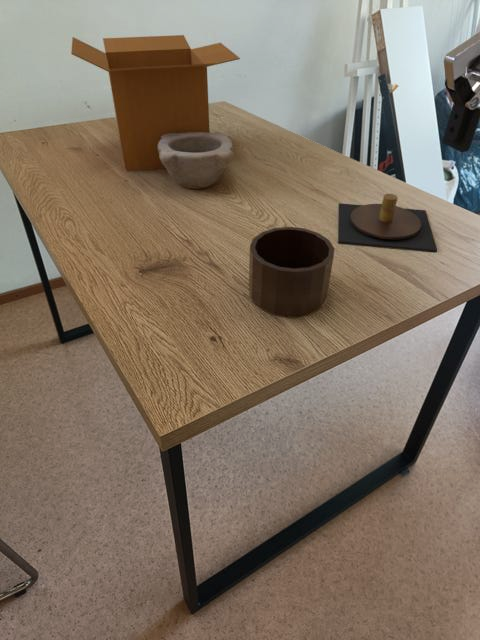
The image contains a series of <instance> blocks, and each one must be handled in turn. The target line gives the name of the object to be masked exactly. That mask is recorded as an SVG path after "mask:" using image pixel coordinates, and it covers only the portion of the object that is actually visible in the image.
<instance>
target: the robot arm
mask: <svg viewBox="0 0 480 640" xmlns="http://www.w3.org/2000/svg"><path fill="white" fill-rule="evenodd" d="M443 67H444V76H445V78H446V79H445V80H444V87H445V89H446V90H447V92H448V95H449V97H448V100H449V102H450V103H453V104H452V107H451V110H450V113H449V114H450V115H449V117H448V120H447V125H446V126H445V127H446V128H445V131H444V135H443V137H442V143H443V144H444V145H446V146H448V147H450V148H452V149H453V150H456V151H458V152H460V153H464V152H468V151H469V150H470V148H471V146H472V142H473V140H474V137H475V134H476V131H477V129H478V124H479V121H480V108H478V107H479V106H480V18H479V19H478V23H477V25H476V29H475V30H474V35H472V36H471V37H470V38H468V39H467V40H465V41H464V42H462V43H461V44H459V45H458V46H456V47H455V48H453V49H452V50H451V51H449V52H448V53H446V54H445V56H444V58H443ZM477 83H478V86H477V87H476V88H475V89H473V88H474V86H475V85H476V84H477Z"/></svg>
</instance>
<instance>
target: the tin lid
mask: <svg viewBox="0 0 480 640" xmlns="http://www.w3.org/2000/svg"><path fill="white" fill-rule="evenodd" d="M398 199H399V197H398V195H396V194H394V193H385V194H384V195H383V198H382V202H381V203H368V204H362V205H363V206H360V207H358V208H356V209H354V210H353V211H352V213H351V216H350V221H351V223H352V225H353V226H354V227H355V228H356V229H358V230H359V231H361V232H363V233H365V234H367V235H370V236H373V237H377V238H382V239H405V238H409V237H412V236H414V235H415V234H417V233H418V232H419V230H420V228H421V221H420V219H419V218H418V217H417V216H416V215H415V214H413V213H412V212H410V211H408V210H406V209H407V208H405V207H400V206H397V202H398Z"/></svg>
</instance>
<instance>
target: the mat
mask: <svg viewBox="0 0 480 640" xmlns="http://www.w3.org/2000/svg"><path fill="white" fill-rule="evenodd" d="M363 205H364V204H354V203H353V204H352V203H338V224H337V225H338V230H337V231H338V233H337V235H338V236H337V243H338V244H342V245H351V246H352V245H353V246H363V247H373V248H384V249H385V248H386V249H397V250H408V251H419V252H430V253H437V252H438V248H437V247H438V246H437V244H436V240H435V237H434V234H433V231H432V228H431V224H430V221H429V217H428V214H427V210H426V209H415V208H405V209H406V210H408V211H410V212H412V213H413V214H415V215H416V216H417V217H418V218H419V219H420V221H421V228H420V230H419V232H418V233H417V234H415V235H414V236H412V237H409V238H405V239H382V238H377V237H373V236H370V235H367V234H365V233H363V232H361V231H359V230H358V229H356V228H355V227H354V226H353V225H352V223H351V221H350V216H351V213H352V211H353V210H354V209H356V208H358V207H360V206H363Z"/></svg>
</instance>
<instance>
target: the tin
mask: <svg viewBox="0 0 480 640" xmlns="http://www.w3.org/2000/svg"><path fill="white" fill-rule="evenodd" d="M334 257H335V247H334V245H333V243H332V242H331V240H330V239H329V238H327V237H325V236H324V235H322V234H321V233H319V232H316V231H314V230H311V229H307V228H304V227H294V226H283V227H273V228H270V229H267V230H265V231H261V232H260V233H258V234H257V235H256V236H255V237H253V238H252V241H251V243H250V246H249V263H248V265H249V268H248V269H249V270H248V271H249V272H248V290H249V297H250V299H251V301H252V302H253V304H254V305H255V306H257V307H258V308H259V309H260V310H262V311H264V312H266V313H268V314H271V315H274V316H278V317H284V318H285V317H286V318H299V317H305V316H308V315H310V314H313V313H315V312H317V311H318V310H320V309H321V308H322V307H323V306H324V305H325V304H326V301H327V299H328V293H329V286H330V281H331V275H332V269H333V263H334Z"/></svg>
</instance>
